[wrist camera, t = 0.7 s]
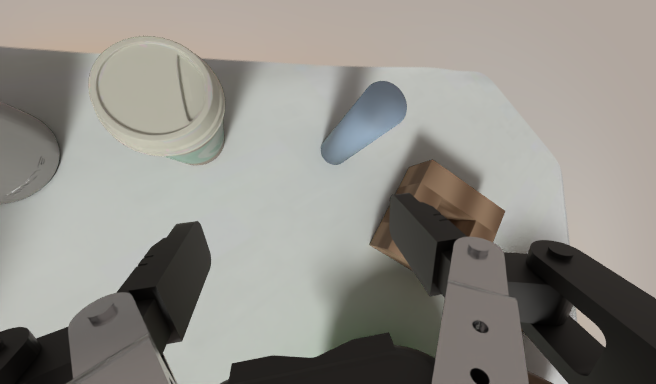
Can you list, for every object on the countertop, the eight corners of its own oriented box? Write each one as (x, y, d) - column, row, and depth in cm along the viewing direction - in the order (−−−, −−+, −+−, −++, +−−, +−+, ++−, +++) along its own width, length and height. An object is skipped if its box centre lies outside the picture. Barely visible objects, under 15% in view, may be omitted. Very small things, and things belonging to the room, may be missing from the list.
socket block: (369, 244, 33) (387, 249, 28) (409, 167, 35) (432, 159, 31) (441, 288, 35) (470, 299, 30) (473, 212, 37) (505, 211, 33)
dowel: (315, 154, 32) (354, 108, 19) (329, 131, 33) (376, 71, 20) (339, 170, 33) (394, 136, 19) (352, 147, 34) (414, 99, 20)
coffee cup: (218, 189, 29) (189, 169, 17) (138, 158, 27) (48, 114, 16) (248, 123, 31) (240, 65, 19) (175, 90, 29) (117, 4, 17)
